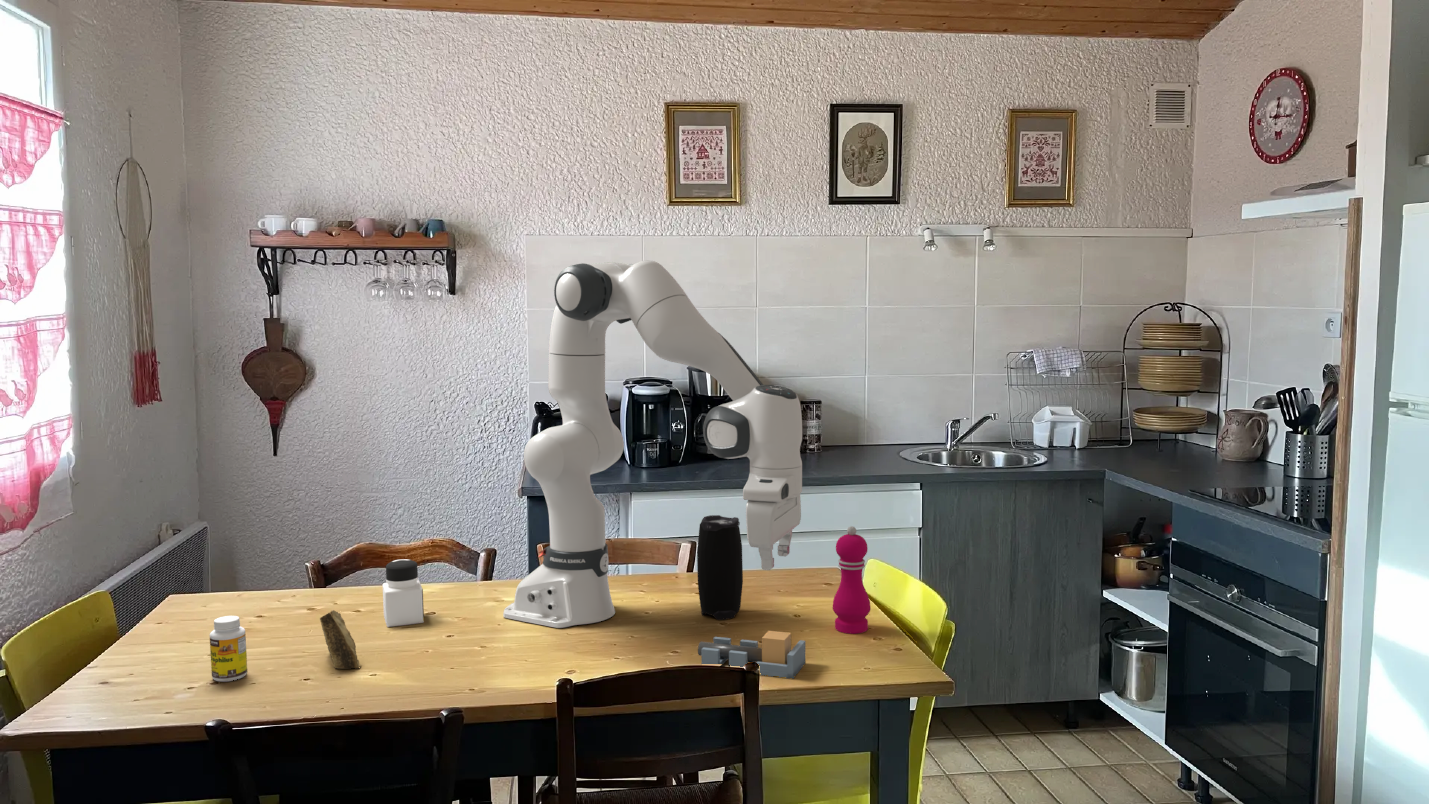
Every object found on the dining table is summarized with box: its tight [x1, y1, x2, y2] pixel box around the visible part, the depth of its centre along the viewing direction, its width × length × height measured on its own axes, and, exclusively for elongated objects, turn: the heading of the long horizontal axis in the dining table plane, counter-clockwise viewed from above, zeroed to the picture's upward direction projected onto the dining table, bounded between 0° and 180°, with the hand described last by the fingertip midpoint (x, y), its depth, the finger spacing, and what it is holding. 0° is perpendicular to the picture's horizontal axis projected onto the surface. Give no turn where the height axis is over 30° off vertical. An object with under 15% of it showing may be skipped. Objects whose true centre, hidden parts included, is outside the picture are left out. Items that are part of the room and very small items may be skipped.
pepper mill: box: [832, 525, 872, 635], centre depth 201 cm, size 7×7×20 cm
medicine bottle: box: [382, 558, 425, 628], centre depth 210 cm, size 7×7×12 cm
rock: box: [319, 609, 361, 670], centre depth 188 cm, size 11×9×10 cm
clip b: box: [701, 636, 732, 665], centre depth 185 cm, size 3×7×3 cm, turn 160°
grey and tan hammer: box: [697, 630, 792, 665], centre depth 183 cm, size 16×4×5 cm, turn 70°
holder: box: [755, 639, 806, 680], centre depth 181 cm, size 7×8×4 cm
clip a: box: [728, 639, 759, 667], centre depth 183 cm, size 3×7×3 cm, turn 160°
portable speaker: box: [696, 514, 744, 621], centre depth 211 cm, size 9×9×20 cm
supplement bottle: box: [209, 615, 248, 682], centre depth 180 cm, size 6×6×10 cm
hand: (775, 562), depth 180 cm, fingers open, 8 cm apart
